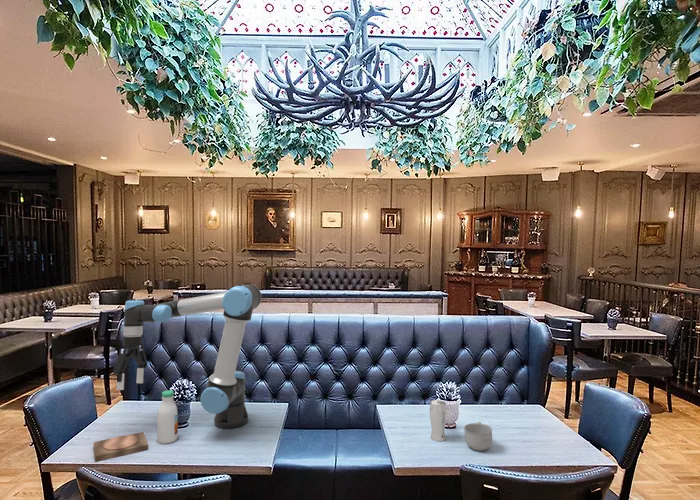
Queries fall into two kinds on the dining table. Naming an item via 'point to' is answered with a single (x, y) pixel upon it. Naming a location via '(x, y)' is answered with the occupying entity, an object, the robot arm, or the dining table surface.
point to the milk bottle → (167, 419)
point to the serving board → (120, 446)
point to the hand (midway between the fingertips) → (130, 386)
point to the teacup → (478, 436)
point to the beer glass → (438, 419)
